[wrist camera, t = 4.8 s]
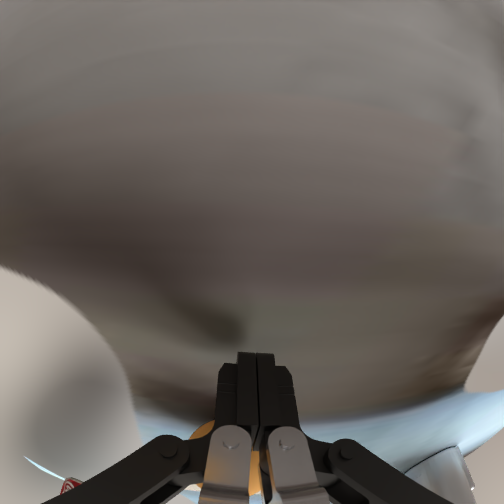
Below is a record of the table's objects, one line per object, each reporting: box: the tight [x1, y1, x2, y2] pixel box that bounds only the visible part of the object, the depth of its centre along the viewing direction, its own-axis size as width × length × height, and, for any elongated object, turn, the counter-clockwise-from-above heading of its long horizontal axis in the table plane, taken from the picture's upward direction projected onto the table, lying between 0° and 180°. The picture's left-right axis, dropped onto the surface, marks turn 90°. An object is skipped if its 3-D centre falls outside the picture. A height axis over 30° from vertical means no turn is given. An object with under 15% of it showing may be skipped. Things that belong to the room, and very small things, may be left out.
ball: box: [189, 420, 261, 496], centre depth 13 cm, size 6×6×6 cm
